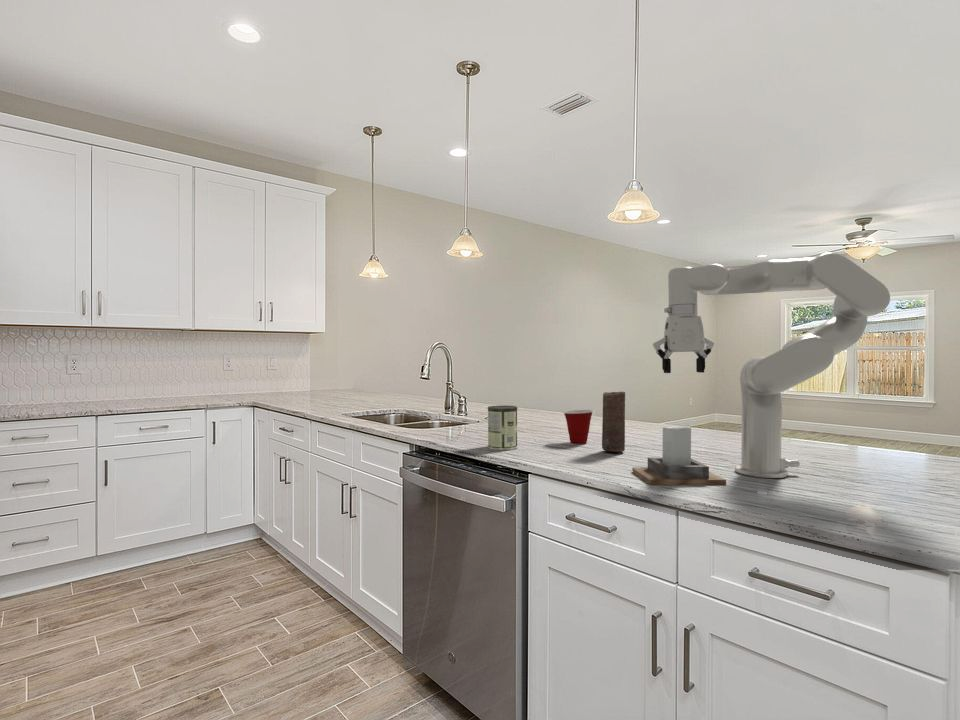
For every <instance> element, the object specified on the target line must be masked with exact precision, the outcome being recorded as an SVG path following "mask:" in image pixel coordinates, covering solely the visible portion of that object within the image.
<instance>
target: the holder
mask: <svg viewBox="0 0 960 720" xmlns="http://www.w3.org/2000/svg"><path fill="white" fill-rule="evenodd" d="M632 471H633V472H634V473H633V472H632V473H633V474H634V475H636V474H637V475H638V476H637V475H636V476H637V477H639V478H640V477H641V478H642V479H641V478H640V479H641V480H643V481H644V482H645V481H646V482H645V483H647V484H648V485H650V486H662V485H663V486H672V485H673V486H682V485H684V486H686V485H687V486H699V485H700V486H702V485H703V486H704V485H705V486H706V485H709V486H717V485H718V486H719V485H720V486H723V485H722V484H726V485H727V479H726V478H723V477H721V476H719V475H717V474H716V473H713V472H711V471H710V466H709V465H706V464H704V463H702V462H700V461H697V460H696V459H694V458H692V457H691V465H671V466H667V465H665V464H663V463H662V457H647V467H632Z"/></svg>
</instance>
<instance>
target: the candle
mask: <svg viewBox="0 0 960 720" xmlns="http://www.w3.org/2000/svg"><path fill="white" fill-rule="evenodd" d="M601 425H602V426H601V427H602V429H601V431H602V433H601V448H602V450H603V451H605V453H619V452H620V453H621V452H625V451H626V391H611V392H608V391H606V392H603V393H602V424H601Z"/></svg>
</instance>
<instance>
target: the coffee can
mask: <svg viewBox="0 0 960 720" xmlns="http://www.w3.org/2000/svg"><path fill="white" fill-rule="evenodd" d="M487 440H488V441H487V442H488V443H487V448H488V449H489V450H495V451H511V450H517V448H518V406H515V405H491V406H487Z"/></svg>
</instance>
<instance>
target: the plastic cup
mask: <svg viewBox="0 0 960 720" xmlns="http://www.w3.org/2000/svg"><path fill="white" fill-rule="evenodd" d="M593 412H594V410H591V409H575V410H565V411H563V412H562V413H563V415H564V417H565V421H566V426H567V432H568V433H567V434H568V437H569V442H570V444H572V443H573V445H586V444H587V442H588V438H589V432H590V427H591V420H592V416H593Z"/></svg>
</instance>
